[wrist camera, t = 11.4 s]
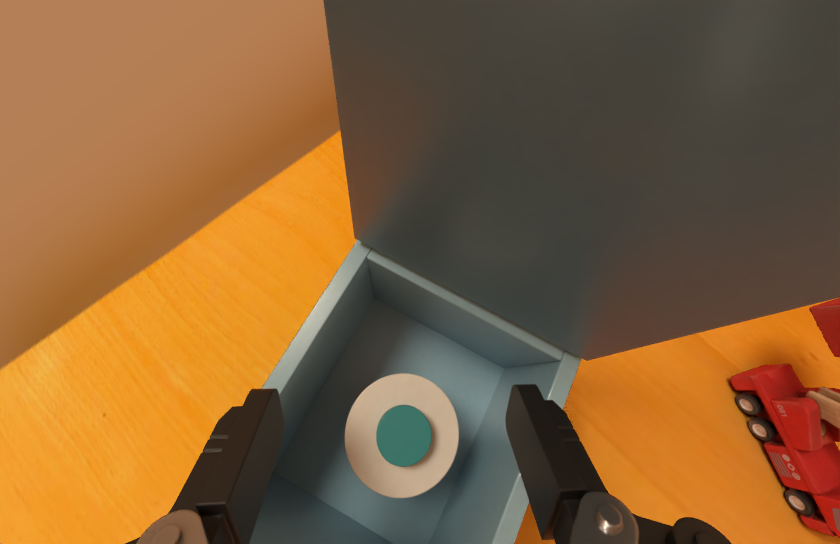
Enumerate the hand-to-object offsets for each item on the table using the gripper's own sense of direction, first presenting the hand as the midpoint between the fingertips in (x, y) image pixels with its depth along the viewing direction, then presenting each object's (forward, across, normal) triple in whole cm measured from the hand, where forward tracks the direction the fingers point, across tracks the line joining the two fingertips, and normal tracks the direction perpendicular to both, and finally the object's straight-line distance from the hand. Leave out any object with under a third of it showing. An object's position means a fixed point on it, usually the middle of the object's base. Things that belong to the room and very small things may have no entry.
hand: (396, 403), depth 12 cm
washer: (+8, 0, +10) cm, 12 cm away
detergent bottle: (+7, 0, +9) cm, 11 cm away
